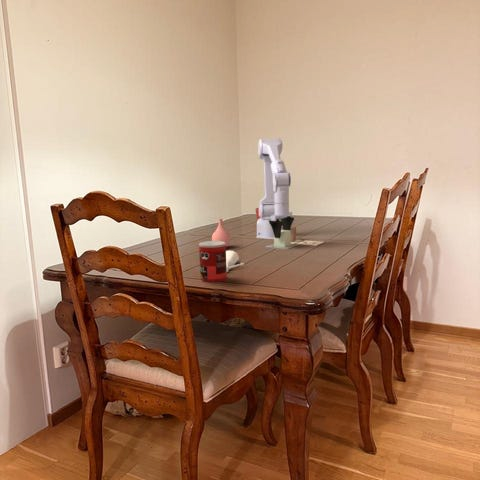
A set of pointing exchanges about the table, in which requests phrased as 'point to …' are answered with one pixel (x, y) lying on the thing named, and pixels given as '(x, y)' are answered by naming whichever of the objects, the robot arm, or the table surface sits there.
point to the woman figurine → (231, 259)
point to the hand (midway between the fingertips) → (281, 236)
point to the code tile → (310, 242)
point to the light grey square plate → (282, 247)
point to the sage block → (283, 239)
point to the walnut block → (292, 233)
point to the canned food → (212, 261)
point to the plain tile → (296, 241)
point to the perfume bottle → (221, 234)
